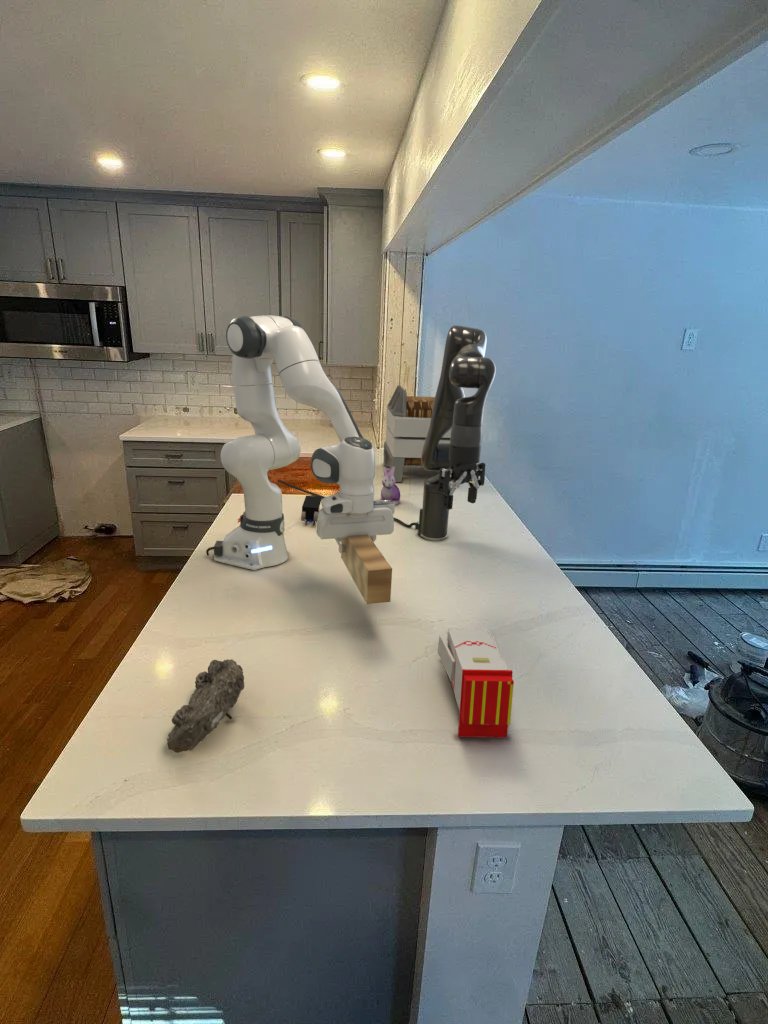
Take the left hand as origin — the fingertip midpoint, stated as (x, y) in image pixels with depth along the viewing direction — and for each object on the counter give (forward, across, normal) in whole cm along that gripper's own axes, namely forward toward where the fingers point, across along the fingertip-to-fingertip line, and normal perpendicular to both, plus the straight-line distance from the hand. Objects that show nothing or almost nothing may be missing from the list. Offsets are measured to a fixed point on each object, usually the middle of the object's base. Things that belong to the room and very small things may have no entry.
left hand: (354, 551), depth 149 cm
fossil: (+14, +38, +40) cm, 56 cm away
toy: (+14, -14, +44) cm, 48 cm away
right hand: (-15, -24, +10) cm, 30 cm away
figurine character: (+14, +1, -61) cm, 62 cm away
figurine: (+14, -34, -75) cm, 83 cm away
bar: (+3, 0, +9) cm, 10 cm away
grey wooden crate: (+14, -62, -115) cm, 131 cm away
